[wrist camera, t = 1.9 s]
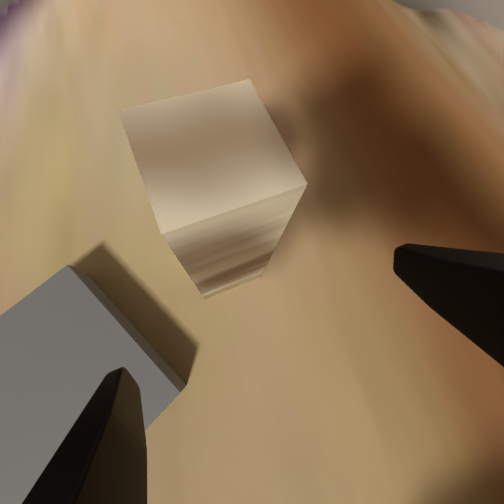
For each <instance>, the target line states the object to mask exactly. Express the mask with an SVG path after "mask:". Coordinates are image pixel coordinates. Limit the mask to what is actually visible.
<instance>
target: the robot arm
mask: <svg viewBox="0 0 504 504" xmlns="http://www.w3.org/2000/svg"><path fill="white" fill-rule="evenodd" d="M393 269H394V272H395V274H396V275H397V276H398V277H399V278H400V279H401V280H402V281H403V282H404V283H405V284H406V285H407V286H408V287H409V288H410V289H412V290H413V291H414V292H415V293H416V294H417V295H418V296H419V297H420V298H421V299H422V300H423V301H424V302H425V303H426V304H427V305H428V306H429V307H430V308H432V309H433V310H434V311H435V312H436V313H438V314H439V315H440V316H441V317H442V318H444V319H445V320H446V321H447V322H449V323H450V324H451V325H452V326H454V327H455V328H456V329H457V330H459V331H460V332H461V333H462V334H463V335H465V336H466V337H467V338H468V339H470V340H471V341H472V342H473V343H475V344H476V345H477V346H478V347H479V348H481V349H482V350H483V351H484V352H486V353H487V354H488V355H489V356H491V357H492V358H493V359H494V360H496V361H497V362H498V363H499V364H500V365H502V366H503V367H504V254H503V253H493V252H484V251H474V250H465V249H455V248H446V247H436V246H427V245H417V244H404V245H402V246H399V247H397V248H396V249H395V251H394V262H393ZM22 504H147V448H146V437H145V428H144V420H143V411H142V402H141V393H140V388H139V386H138V384H137V382H136V381H135V380H134V378H133V377H132V376H131V374H130V373H129V371H128V370H127V369H126V368H125V367H120V368H118V369H115V370H113V371H111V372H109V373H107V374H106V376H105V377H104V379H103V380H102V382H101V383H100V385H99V386H98V388H97V389H96V391H95V392H94V394H93V395H92V397H91V398H90V400H89V401H88V403H87V405H86V406H85V408H84V409H83V411H82V412H81V414H80V415H79V417H78V418H77V420H76V421H75V423H74V424H73V426H72V427H71V429H70V431H69V432H68V434H67V435H66V437H65V438H64V440H63V441H62V443H61V444H60V446H59V447H58V449H57V450H56V452H55V453H54V455H53V457H52V458H51V460H50V461H49V463H48V464H47V466H46V467H45V469H44V470H43V472H42V473H41V475H40V476H39V478H38V479H37V481H36V483H35V484H34V486H33V487H32V489H31V490H30V492H29V493H28V495H27V496H26V498H25V499H24V501H23V502H22Z"/></svg>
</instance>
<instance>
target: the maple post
mask: <svg viewBox="0 0 504 504" xmlns="http://www.w3.org/2000/svg"><path fill="white" fill-rule="evenodd" d="M118 111H119V114H120V117H121V120H122V123H123V126H124V129H125V132H126V134H127V137H128V140H129V143H130V146H131V149H132V152H133V154H134V157H135V160H136V163H137V166H138V169H139V172H140V175H141V177H142V180H143V183H144V186H145V189H146V192H147V195H148V197H149V200H150V203H151V206H152V209H153V212H154V215H155V218H156V220H157V223H158V226H159V229H160V232H161V234H162V236H163V237H164V239H165V240H166V242H167V243H168V245H169V246H170V248H171V249H172V251H173V252H174V254H175V255H176V257H177V258H178V260H179V261H180V263H181V264H182V266H183V267H184V269H185V270H186V272H187V273H188V275H189V276H190V278H191V279H192V281H193V282H194V284H195V285H196V287H197V288H198V290H199V291H200V293H201V294H202V296H203V297H204V299H208V298H210V297H213V296H215V295H218V294H220V293H223V292H225V291H227V290H230V289H232V288H235V287H237V286H240V285H242V284H245V283H247V282H250V281H252V280H254V279H257V278H259V277H261V275H262V273H263V271H264V269H265V267H266V265H267V263H268V261H269V259H270V257H271V255H272V253H273V251H274V249H275V247H276V245H277V243H278V241H279V239H280V237H281V235H282V234H283V232H284V230H285V228H286V226H287V224H288V222H289V220H290V218H291V216H292V214H293V212H294V210H295V208H296V206H297V204H298V202H299V200H300V198H301V196H302V194H303V192H304V190H305V188H306V186H307V182H306V180H305V178H304V177H303V175H302V173H301V171H300V169H299V168H298V166H297V164H296V162H295V160H294V159H293V157H292V155H291V153H290V151H289V149H288V148H287V146H286V144H285V142H284V140H283V139H282V137H281V135H280V133H279V131H278V130H277V128H276V126H275V124H274V122H273V121H272V119H271V117H270V115H269V113H268V112H267V110H266V108H265V106H264V104H263V103H262V101H261V99H260V97H259V95H258V94H257V92H256V90H255V88H254V86H253V84H252V83H251V81H250V79H248V80H244V81H240V82H235V83H231V84H227V85H223V86H219V87H214V88H210V89H206V90H202V91H198V92H193V93H189V94H185V95H181V96H177V97H172V98H168V99H164V100H160V101H156V102H151V103H147V104H143V105H139V106H135V107H130V108H126V109H122V110H118Z"/></svg>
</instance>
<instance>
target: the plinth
mask: <svg viewBox="0 0 504 504" xmlns="http://www.w3.org/2000/svg"><path fill="white" fill-rule="evenodd" d="M120 367H125V368H126V369H127V370H128V371H129V373H130V374H131V376H132V377H133V378H134V380H135V381H136V382H137V384H138V386H139V388H140V393H141V402H142V411H143V420H144V428H145V430H146V428H147V427H148V426H149V425H150V424H151V423H152V422H153V421H154V420H155V419H156V418H157V417H158V416H159V415H160V414H161V412H162V411H163V410H164V409H165V408H166V407H167V406H168V405H169V404H170V403H171V402H172V401H173V400H174V399H175V397H176V396H177V395H178V394H179V393H180V392H181V391H182V390H183V389H184V388H185V387H186V383H185V382H184V381H183V380H182V379H181V378H180V377H179V376H178V374H177V373H176V372H175V371H174V370H173V369H172V368H171V367H170V365H169V364H168V363H167V362H166V361H165V360H164V359H163V358H162V357H161V355H160V354H159V353H158V352H157V351H156V350H155V349H154V348H153V346H152V345H151V344H150V343H149V342H148V341H147V340H146V339H145V338H144V336H143V335H142V334H141V333H140V332H139V331H138V330H137V329H136V327H135V326H134V325H133V324H132V323H131V322H130V321H129V320H128V319H127V317H126V316H125V315H124V314H123V313H122V312H121V311H120V310H119V308H118V307H117V306H116V305H115V304H114V303H113V302H112V301H111V299H110V298H109V297H108V296H107V295H106V294H105V293H104V292H103V291H102V289H101V288H100V287H99V286H98V285H97V284H96V283H95V282H94V280H93V279H92V278H91V277H90V276H89V275H88V274H87V273H85V272H82V271H80V270H78V269H76V268H73V267H71V266H69V265H67V266H65V267H64V268H63V269H61V270H60V271H59V272H57V273H56V274H55V275H53V276H52V277H51V278H50V279H48V280H47V281H46V282H44V283H43V284H42V285H40V286H39V287H38V288H36V289H35V290H34V291H33V292H31V293H30V294H29V295H27V296H26V297H25V298H23V299H22V300H21V301H19V302H18V303H17V304H16V305H14V306H13V307H12V308H10V309H9V310H8V311H6V312H5V313H4V314H2V315H1V316H0V504H22V502H23V501H24V499H25V498H26V496H27V495H28V493H29V492H30V490H31V489H32V487H33V486H34V484H35V483H36V481H37V479H38V478H39V476H40V475H41V473H42V472H43V470H44V469H45V467H46V466H47V464H48V463H49V461H50V460H51V458H52V457H53V455H54V453H55V452H56V450H57V449H58V447H59V446H60V444H61V443H62V441H63V440H64V438H65V437H66V435H67V434H68V432H69V431H70V429H71V427H72V426H73V424H74V423H75V421H76V420H77V418H78V417H79V415H80V414H81V412H82V411H83V409H84V408H85V406H86V405H87V403H88V401H89V400H90V398H91V397H92V395H93V394H94V392H95V391H96V389H97V388H98V386H99V385H100V383H101V382H102V380H103V379H104V377H105V376H106V374H107V373H109V372H111V371H113V370H115V369H118V368H120Z"/></svg>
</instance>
